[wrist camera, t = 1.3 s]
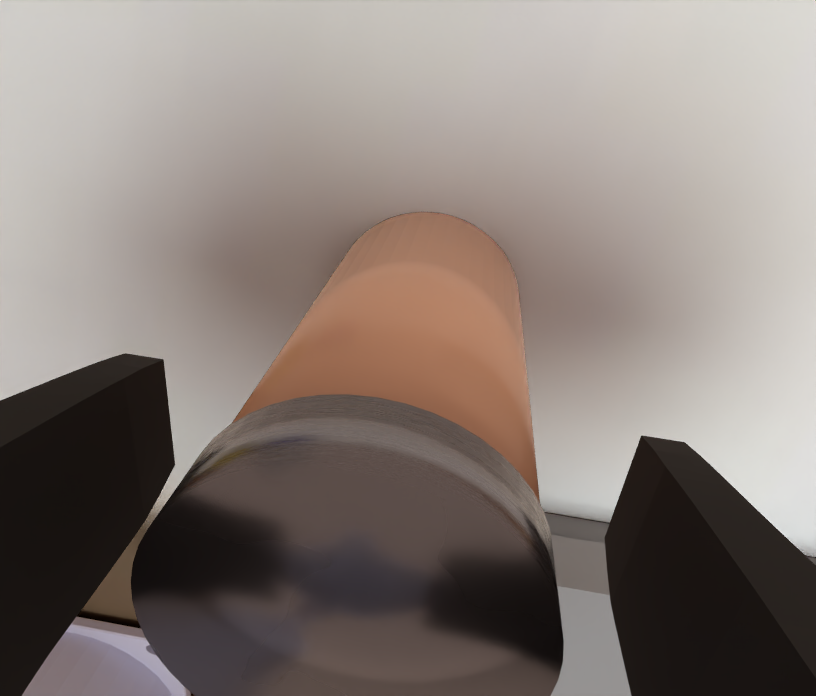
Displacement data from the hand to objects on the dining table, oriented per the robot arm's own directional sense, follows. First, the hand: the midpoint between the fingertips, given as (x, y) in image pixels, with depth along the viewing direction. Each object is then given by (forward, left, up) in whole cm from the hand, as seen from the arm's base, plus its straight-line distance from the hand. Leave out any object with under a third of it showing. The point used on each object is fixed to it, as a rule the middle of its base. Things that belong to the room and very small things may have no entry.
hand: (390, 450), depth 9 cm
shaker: (0, 0, -6) cm, 6 cm away
